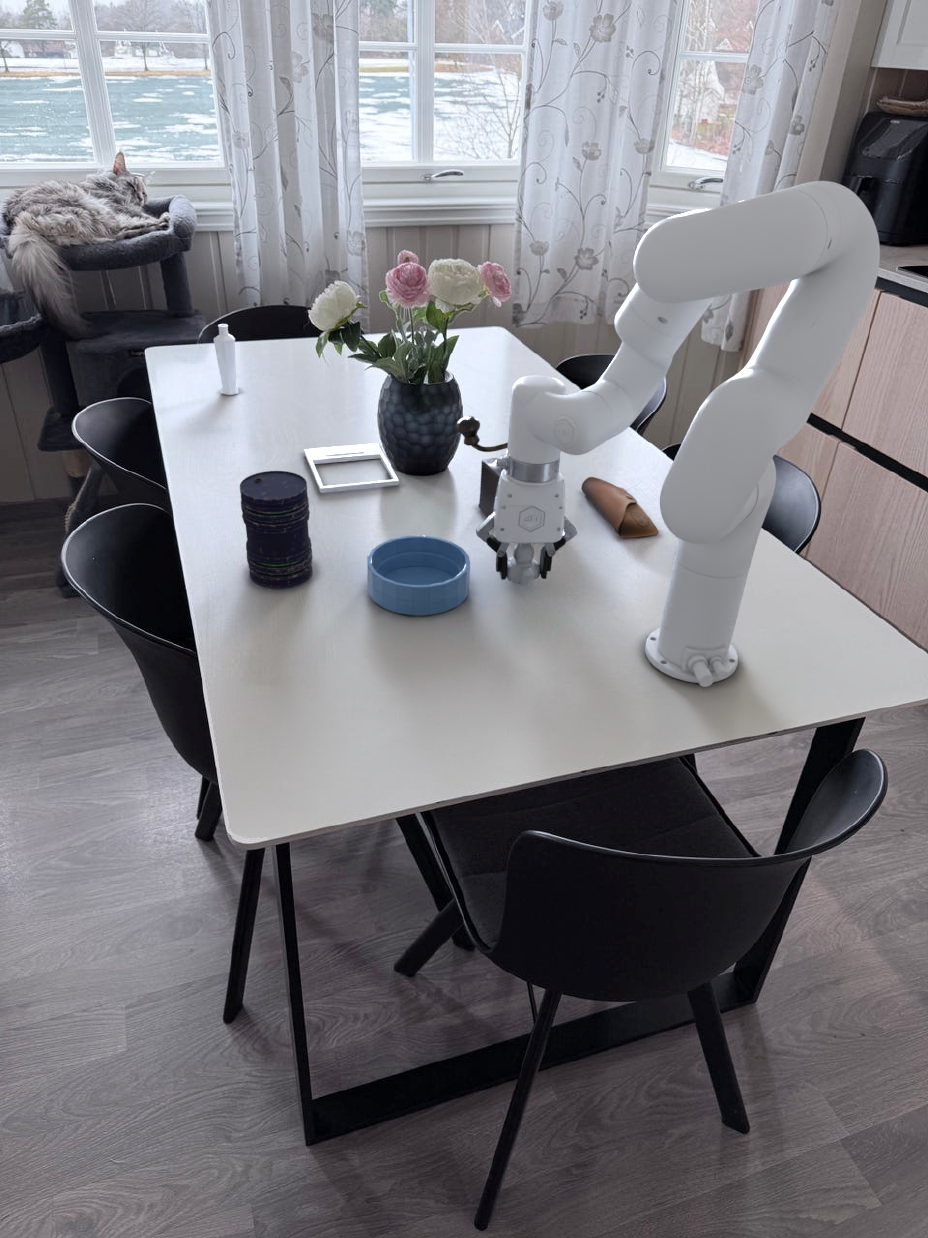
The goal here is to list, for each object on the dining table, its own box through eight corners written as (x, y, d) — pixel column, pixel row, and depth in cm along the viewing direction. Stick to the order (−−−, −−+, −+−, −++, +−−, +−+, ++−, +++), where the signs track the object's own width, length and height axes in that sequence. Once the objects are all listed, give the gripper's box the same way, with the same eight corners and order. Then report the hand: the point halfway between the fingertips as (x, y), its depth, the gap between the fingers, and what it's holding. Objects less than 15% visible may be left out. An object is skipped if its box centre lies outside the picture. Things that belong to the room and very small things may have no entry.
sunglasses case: (663, 532, 153) (650, 504, 149) (627, 554, 153) (613, 526, 149) (622, 487, 167) (609, 460, 163) (589, 507, 168) (575, 481, 164)
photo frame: (376, 442, 179) (399, 479, 165) (377, 447, 179) (399, 484, 165) (304, 448, 175) (320, 487, 161) (304, 453, 175) (320, 492, 161)
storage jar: (326, 568, 140) (321, 481, 131) (285, 596, 132) (277, 506, 124) (277, 550, 144) (269, 464, 135) (235, 576, 136) (224, 488, 128)
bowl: (472, 616, 130) (474, 586, 127) (368, 618, 129) (367, 587, 126) (463, 563, 142) (464, 535, 140) (368, 564, 141) (367, 535, 138)
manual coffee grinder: (526, 497, 163) (534, 402, 153) (557, 523, 155) (567, 425, 145) (449, 511, 158) (453, 413, 148) (477, 539, 149) (482, 438, 139)
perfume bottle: (217, 389, 203) (209, 323, 195) (236, 387, 205) (229, 321, 196) (222, 396, 200) (214, 329, 191) (241, 394, 201) (234, 327, 193)
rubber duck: (532, 570, 140) (536, 526, 136) (545, 593, 135) (550, 547, 131) (499, 573, 139) (502, 528, 135) (510, 596, 134) (514, 550, 130)
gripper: (475, 476, 122) (469, 588, 132) (597, 477, 124) (582, 587, 134) (469, 454, 128) (464, 562, 139) (586, 455, 130) (573, 561, 140)
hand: (522, 573), depth 136 cm, fingers closed on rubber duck, 5 cm apart
